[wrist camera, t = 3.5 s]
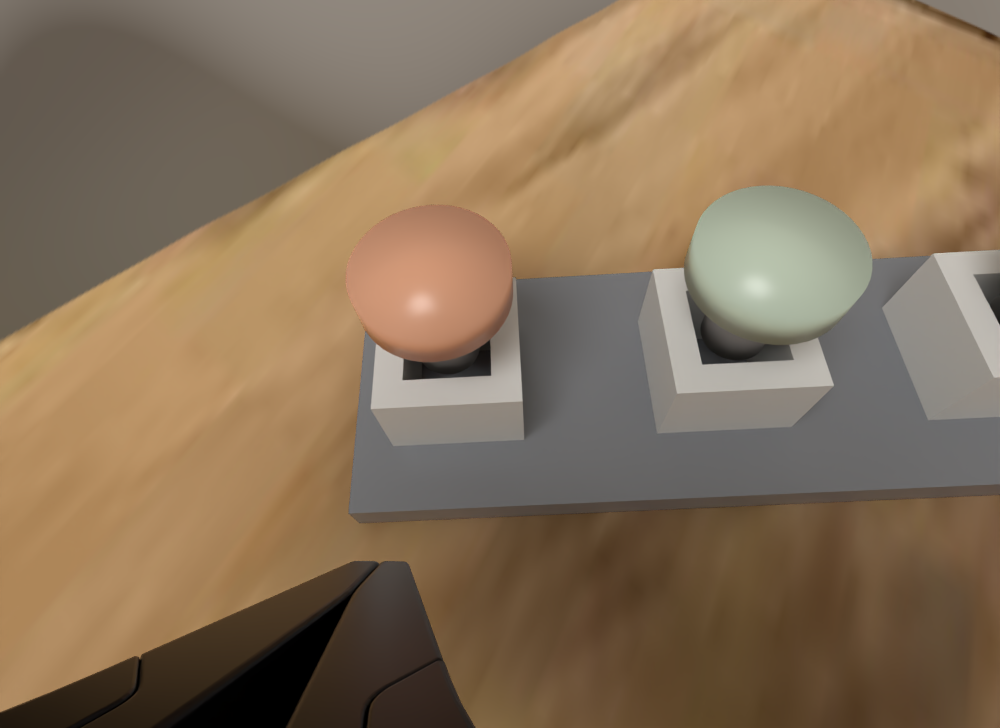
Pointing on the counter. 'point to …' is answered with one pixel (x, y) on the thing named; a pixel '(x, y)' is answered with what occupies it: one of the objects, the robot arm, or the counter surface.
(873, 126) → the counter surface
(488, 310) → the terracotta button
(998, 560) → the counter surface
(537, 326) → the console
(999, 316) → the cream button
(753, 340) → the sage button
